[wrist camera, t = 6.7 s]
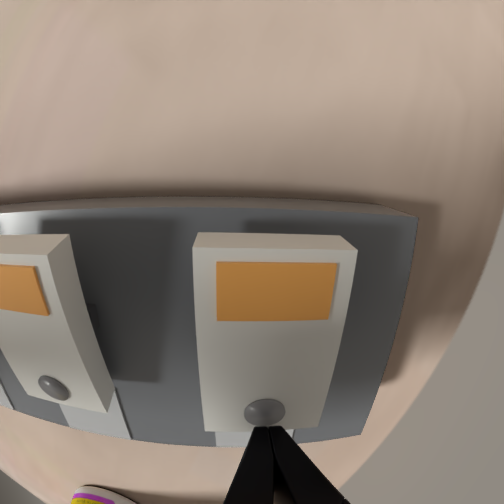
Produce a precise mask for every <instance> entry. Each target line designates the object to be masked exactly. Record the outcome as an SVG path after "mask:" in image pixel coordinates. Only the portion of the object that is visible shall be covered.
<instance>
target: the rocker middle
mask: <svg viewBox="0 0 504 504" xmlns="http://www.w3.org/2000/svg"><path fill="white" fill-rule="evenodd" d="M0 349H1V351H2V352H3V354H4V356H5V358H6V360H7V361H8V363H9V365H10V367H11V368H12V370H13V372H14V374H15V375H16V377H17V378H18V380H19V382H20V383H21V385H22V386H23V388H24V390H25V391H26V393H27V394H28V395H30V396H34V397H37V398H41V399H44V400H48V401H52V402H55V403H59V404H64V405H68V406H72V407H77V408H81V409H86V410H91V411H96V412H102V413H108V410H109V406H110V403H111V400H112V396H113V393H114V390H115V387H114V384H113V382H112V379H111V377H110V374H109V372H108V369H107V367H106V364H105V361H104V359H103V356H102V353H101V351H100V348H99V345H98V342H97V339H96V336H95V333H94V330H93V327H92V324H91V320H90V317H89V314H88V311H87V307H86V304H85V300H84V296H83V293H82V289H81V285H80V281H79V277H78V273H77V269H76V264H75V260H74V255H73V251H72V246H71V241H70V235H69V234H24V235H0Z"/></svg>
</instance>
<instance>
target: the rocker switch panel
mask: <svg viewBox="0 0 504 504" xmlns="http://www.w3.org/2000/svg"><path fill="white" fill-rule="evenodd" d="M417 225H418V217H416V216H413V215H410V214H407V213H404V212H401V211H398V210H395V209H392V208H388V207H385V206H382V205H379V204H368V203H355V202H341V201H326V200H308V199H288V198H262V197H220V196H154V197H114V198H89V199H70V200H54V201H40V202H27V203H15V204H5V205H0V235H24V234H69V235H70V241H71V246H72V251H73V255H74V260H75V264H76V269H77V273H78V277H79V281H80V285H81V289H82V293H83V296H84V300H85V304H86V307H87V311H88V314H89V317H90V320H91V324H92V327H93V330H94V333H95V336H96V339H97V342H98V345H99V348H100V351H101V353H102V356H103V359H104V361H105V364H106V367H107V369H108V372H109V374H110V377H111V379H112V382H113V384H114V387H115V390H114V393H113V396H112V400H111V403H110V406H109V410H108V413H102V412H96V411H91V410H86V409H81V408H77V407H72V406H68V405H64V404H59V403H55V402H52V401H48V400H44V399H41V398H37V397H34V396H30V395H28V394H27V393H26V391H25V390H24V388H23V386H22V385H21V383H20V382H19V380H18V378H17V377H16V375H15V374H14V372H13V370H12V368H11V367H10V365H9V363H8V361H7V360H6V358H5V356H4V354H3V352H2V351H1V349H0V405H2V406H5V407H7V408H10V409H12V410H16V411H19V412H22V413H24V414H27V415H30V416H33V417H37V418H40V419H43V420H46V421H50V422H53V423H56V424H60V425H64V426H68V427H70V428H74V429H78V430H82V431H87V432H91V433H96V434H101V435H106V436H111V437H116V438H122V439H129V440H138V441H146V442H154V443H163V444H174V445H188V446H208V447H246V446H247V444H248V441H249V439H250V436H251V433H252V432H211V431H205V428H204V419H203V410H202V400H201V390H200V378H199V366H198V354H197V339H196V323H195V305H194V283H193V251H192V247H193V245H194V242H195V239H196V237H197V234H198V232H220V233H272V234H310V235H340V236H341V237H343V238H344V239H345V240H346V241H347V242H349V243H350V244H351V245H352V246H353V247H355V248H356V249H357V250H358V252H357V259H356V265H355V271H354V277H353V283H352V289H351V294H350V299H349V304H348V310H347V315H346V319H345V324H344V329H343V333H342V338H341V342H340V347H339V351H338V355H337V359H336V363H335V367H334V371H333V375H332V379H331V383H330V386H329V390H328V394H327V397H326V401H325V404H324V408H323V411H322V414H321V418H320V421H319V424H318V427H311V428H301V429H289V430H286V431H287V433H288V434H289V435H290V436H291V437H292V439H293V440H294V441H295V442H296V443H297V444H299V443H308V442H317V441H324V440H331V439H338V438H344V437H350V436H355V435H361V433H362V430H363V428H364V425H365V423H366V420H367V418H368V415H369V413H370V410H371V408H372V405H373V402H374V400H375V397H376V394H377V391H378V389H379V386H380V383H381V380H382V377H383V374H384V371H385V368H386V365H387V361H388V358H389V355H390V352H391V348H392V345H393V341H394V338H395V334H396V330H397V327H398V323H399V319H400V315H401V311H402V307H403V302H404V298H405V293H406V289H407V284H408V279H409V274H410V269H411V263H412V258H413V252H414V245H415V239H416V232H417Z"/></svg>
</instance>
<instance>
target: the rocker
mask: <svg viewBox="0 0 504 504" xmlns="http://www.w3.org/2000/svg"><path fill="white" fill-rule="evenodd" d="M192 251H193V283H194V305H195V323H196V339H197V354H198V366H199V378H200V390H201V400H202V410H203V419H204V428H205V431H211V432H252V431H253V428H254V427H255V426H267V427H269V426H277V425H280V426H282V427H283V428H284V429H285V430H289V429H301V428H311V427H318V424H319V421H320V418H321V414H322V411H323V408H324V404H325V401H326V397H327V394H328V390H329V386H330V383H331V379H332V375H333V371H334V367H335V363H336V359H337V355H338V351H339V347H340V342H341V338H342V333H343V329H344V324H345V319H346V315H347V310H348V304H349V299H350V294H351V289H352V283H353V277H354V271H355V265H356V259H357V252H358V250H357V249H356V248H355V247H353V246H352V245H351V244H350V243H349V242H347V241H346V240H345V239H344V238H343V237H341V236H340V235H310V234H272V233H220V232H198V234H197V237H196V239H195V242H194V245H193V247H192Z"/></svg>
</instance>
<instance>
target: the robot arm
mask: <svg viewBox="0 0 504 504" xmlns="http://www.w3.org/2000/svg"><path fill="white" fill-rule="evenodd" d="M223 504H350V503H349V501H348V500H346V499H344V496H343V495H342V494H341V493H340V492H339V491H338V490H337V489H336V488H335V487H334V486H333V485H332V483H331V482H330V481H329V480H328V479H327V478H326V477H325V476H324V475H323V473H322V472H321V471H320V470H319V469H318V468H317V467H316V466H315V464H314V463H313V462H312V461H311V460H310V459H309V458H308V456H307V455H306V454H305V453H304V452H303V451H302V449H301V448H300V447H299V446H298V445H297V443H296V442H295V441H294V440H293V439H292V437H291V436H290V435H289V434H288V433H287V431H286V430H285V429H284V428H283V427H282V426H280V425H277V426H269V427H267V426H255V427H254V428H253V431H252V433H251V436H250V439H249V441H248V444H247V446H246V449H245V452H244V454H243V457H242V459H241V462H240V464H239V467H238V469H237V472H236V474H235V476H234V479H233V481H232V484H231V486H230V488H229V491H228V493H227V495H226V498H225V500H224V502H223Z"/></svg>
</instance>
